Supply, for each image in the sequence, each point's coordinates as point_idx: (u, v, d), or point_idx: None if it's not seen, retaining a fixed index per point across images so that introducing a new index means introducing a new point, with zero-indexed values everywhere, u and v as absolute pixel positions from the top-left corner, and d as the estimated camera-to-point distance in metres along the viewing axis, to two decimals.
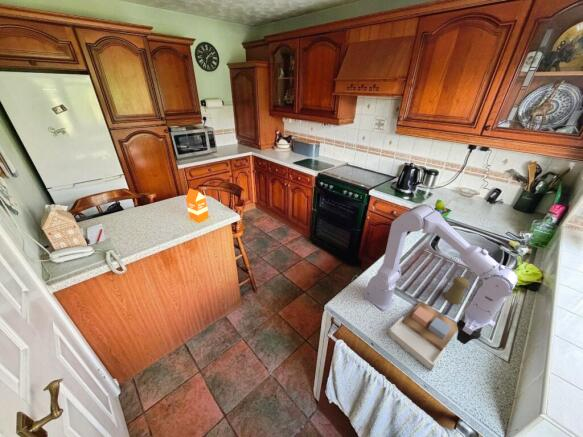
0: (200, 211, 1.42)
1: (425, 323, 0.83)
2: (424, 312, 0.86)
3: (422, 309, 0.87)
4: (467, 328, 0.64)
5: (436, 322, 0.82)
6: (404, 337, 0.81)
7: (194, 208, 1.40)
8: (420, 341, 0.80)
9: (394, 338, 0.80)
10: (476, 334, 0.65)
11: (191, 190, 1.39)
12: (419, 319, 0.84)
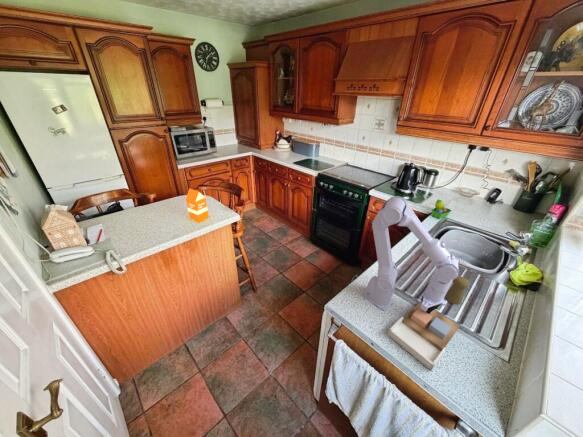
0: (200, 211, 1.42)
1: (424, 325, 0.82)
2: (423, 313, 0.85)
3: (421, 310, 0.86)
4: (423, 306, 0.79)
5: (436, 322, 0.82)
6: (404, 337, 0.81)
7: (194, 208, 1.40)
8: (420, 341, 0.80)
9: (394, 338, 0.80)
10: (435, 305, 0.82)
11: (191, 190, 1.39)
12: (418, 321, 0.84)
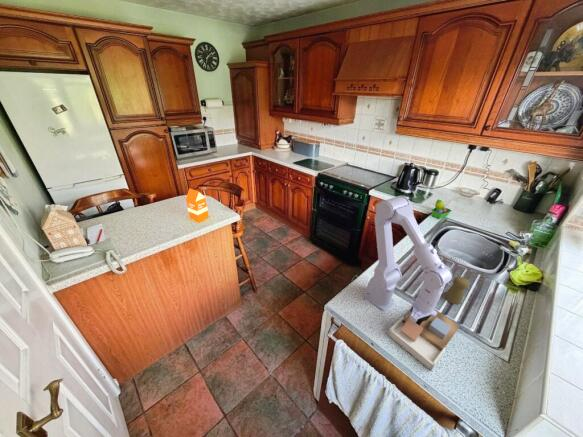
0: (200, 211, 1.42)
1: (414, 340, 0.79)
2: (412, 326, 0.81)
3: (410, 322, 0.81)
4: (412, 317, 0.75)
5: (436, 322, 0.82)
6: (404, 337, 0.81)
7: (194, 208, 1.40)
8: (420, 341, 0.80)
9: (394, 338, 0.80)
10: (425, 316, 0.78)
11: (191, 190, 1.39)
12: (408, 335, 0.81)
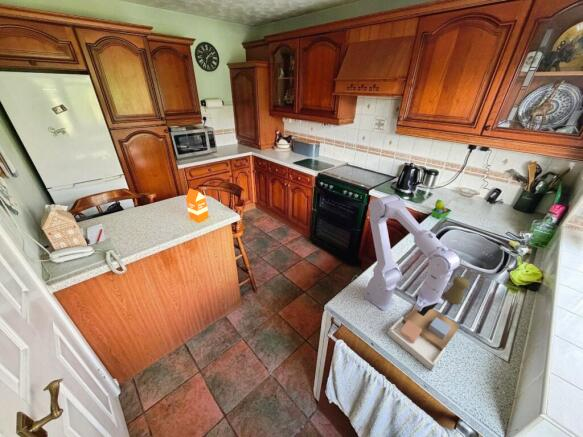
0: (200, 211, 1.42)
1: (413, 341, 0.79)
2: (412, 327, 0.81)
3: (410, 324, 0.82)
4: (417, 305, 0.71)
5: (436, 322, 0.82)
6: (404, 337, 0.81)
7: (194, 208, 1.40)
8: (420, 341, 0.80)
9: (394, 338, 0.80)
10: (431, 305, 0.74)
11: (191, 190, 1.39)
12: (407, 336, 0.80)
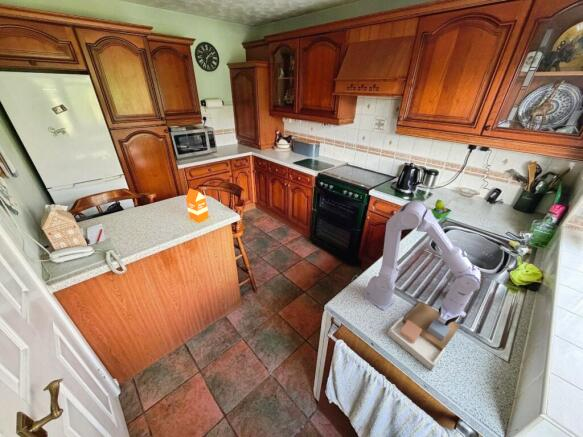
0: (200, 211, 1.42)
1: (413, 341, 0.79)
2: (412, 327, 0.81)
3: (410, 324, 0.82)
4: (441, 318, 0.75)
5: (435, 323, 0.82)
6: (404, 337, 0.81)
7: (194, 208, 1.40)
8: (420, 341, 0.80)
9: (394, 338, 0.80)
10: (454, 317, 0.78)
11: (191, 190, 1.39)
12: (407, 336, 0.80)
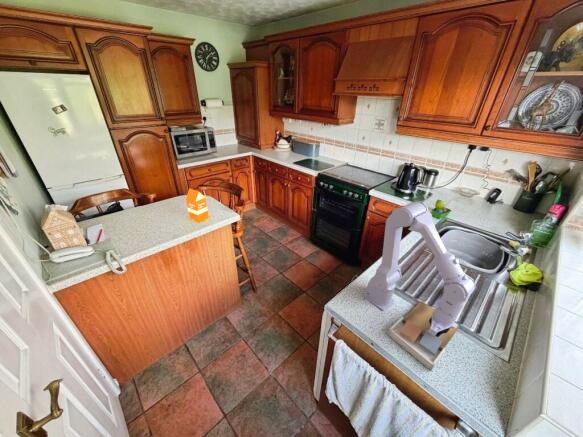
0: (200, 211, 1.42)
1: (413, 341, 0.79)
2: (412, 327, 0.81)
3: (410, 324, 0.82)
4: (432, 330, 0.71)
5: (426, 337, 0.78)
6: (404, 337, 0.81)
7: (194, 208, 1.40)
8: None
9: (394, 338, 0.80)
10: (445, 329, 0.74)
11: (191, 190, 1.39)
12: (407, 336, 0.80)
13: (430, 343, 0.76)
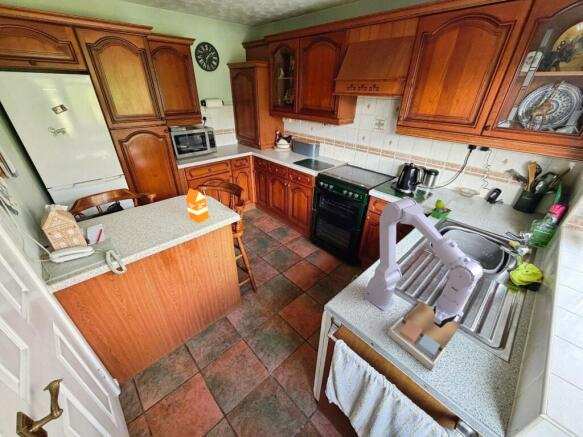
0: (200, 211, 1.42)
1: (413, 341, 0.79)
2: (412, 327, 0.81)
3: (410, 324, 0.82)
4: (436, 318, 0.68)
5: (424, 340, 0.78)
6: (404, 337, 0.81)
7: (194, 208, 1.40)
8: None
9: (394, 338, 0.80)
10: (450, 317, 0.70)
11: (191, 190, 1.39)
12: (407, 336, 0.80)
13: (429, 345, 0.76)
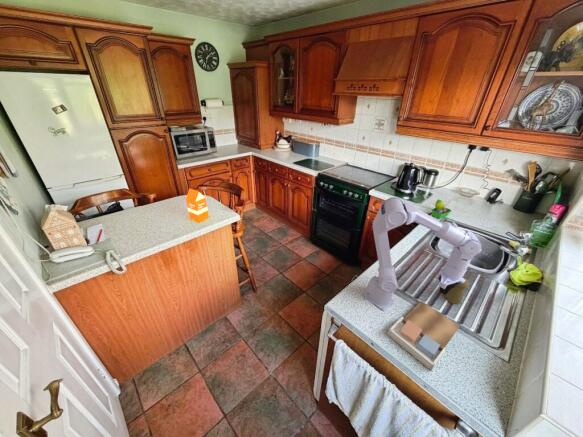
0: (200, 211, 1.42)
1: (413, 341, 0.79)
2: (412, 327, 0.81)
3: (410, 324, 0.82)
4: (442, 283, 0.78)
5: (424, 340, 0.78)
6: (404, 337, 0.81)
7: (194, 208, 1.40)
8: None
9: (394, 338, 0.80)
10: (453, 284, 0.81)
11: (191, 190, 1.39)
12: (407, 336, 0.80)
13: (429, 345, 0.76)
